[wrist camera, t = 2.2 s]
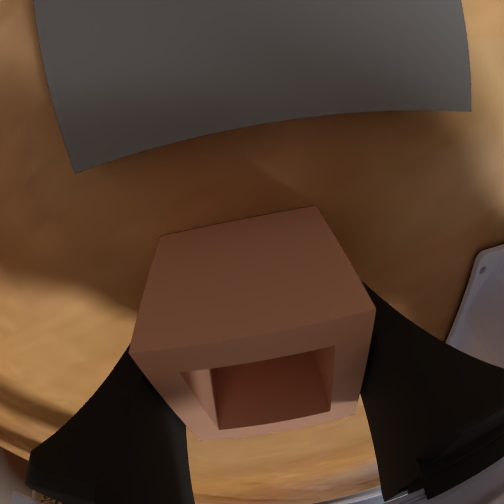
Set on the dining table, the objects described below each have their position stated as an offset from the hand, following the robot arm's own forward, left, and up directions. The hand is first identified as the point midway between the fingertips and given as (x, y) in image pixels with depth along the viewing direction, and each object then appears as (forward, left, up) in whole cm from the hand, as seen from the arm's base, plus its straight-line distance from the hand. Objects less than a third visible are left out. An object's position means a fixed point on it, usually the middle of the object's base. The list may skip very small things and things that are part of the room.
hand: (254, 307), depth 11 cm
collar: (0, 0, -1) cm, 1 cm away
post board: (+12, -2, -1) cm, 12 cm away
